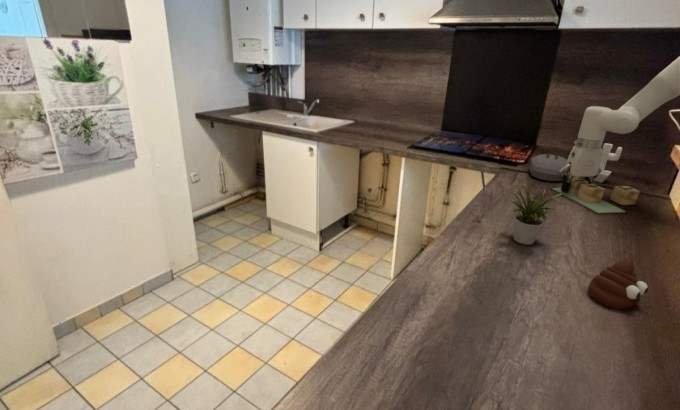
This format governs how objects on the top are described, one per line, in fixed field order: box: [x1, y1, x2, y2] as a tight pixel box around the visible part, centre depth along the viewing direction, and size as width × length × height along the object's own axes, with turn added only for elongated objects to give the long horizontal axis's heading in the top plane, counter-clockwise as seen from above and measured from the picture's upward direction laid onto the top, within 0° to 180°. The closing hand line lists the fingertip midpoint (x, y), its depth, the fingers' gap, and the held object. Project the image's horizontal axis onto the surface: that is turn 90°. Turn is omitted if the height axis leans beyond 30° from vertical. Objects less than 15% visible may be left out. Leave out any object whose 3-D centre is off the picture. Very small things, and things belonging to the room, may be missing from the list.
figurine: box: [593, 143, 623, 184], centre depth 142 cm, size 7×9×15 cm
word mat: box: [551, 187, 626, 215], centre depth 125 cm, size 10×22×1 cm, turn 8°
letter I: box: [577, 183, 606, 203], centre depth 123 cm, size 5×5×5 cm
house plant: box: [505, 180, 564, 246], centre depth 95 cm, size 14×14×16 cm
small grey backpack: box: [529, 153, 568, 182], centre depth 148 cm, size 15×8×20 cm
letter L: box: [568, 176, 588, 195], centre depth 130 cm, size 5×5×5 cm
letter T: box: [609, 185, 641, 206], centre depth 123 cm, size 5×5×5 cm
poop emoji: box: [588, 257, 649, 310], centre depth 73 cm, size 10×8×9 cm
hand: (574, 191), depth 130 cm, fingers open, 7 cm apart
